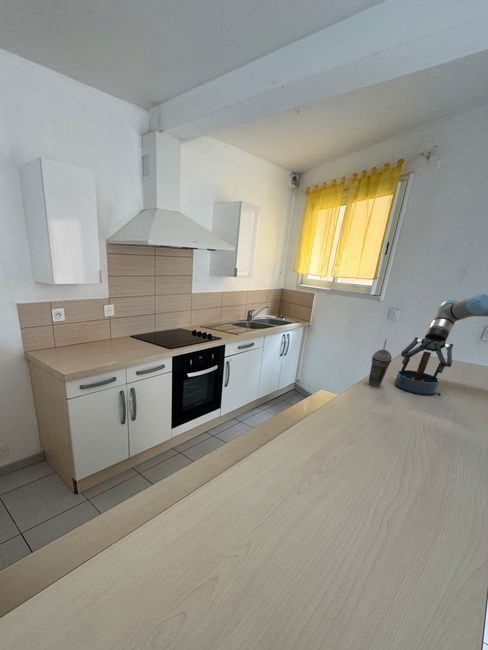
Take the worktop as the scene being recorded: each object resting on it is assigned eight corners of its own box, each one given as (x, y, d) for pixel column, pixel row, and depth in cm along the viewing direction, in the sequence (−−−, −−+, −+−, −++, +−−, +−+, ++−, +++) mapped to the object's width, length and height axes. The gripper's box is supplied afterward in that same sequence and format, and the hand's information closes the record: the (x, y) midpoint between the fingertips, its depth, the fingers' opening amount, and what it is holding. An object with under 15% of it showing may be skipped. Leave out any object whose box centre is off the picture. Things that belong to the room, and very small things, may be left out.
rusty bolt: (424, 386, 139) (436, 353, 133) (419, 388, 136) (431, 354, 131) (412, 382, 143) (423, 350, 137) (406, 384, 140) (418, 351, 134)
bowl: (438, 389, 139) (443, 377, 137) (431, 398, 129) (436, 386, 127) (399, 378, 149) (402, 367, 147) (389, 386, 139) (393, 375, 137)
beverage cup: (368, 386, 138) (381, 341, 130) (362, 380, 145) (374, 337, 137) (386, 388, 137) (400, 342, 129) (379, 382, 144) (393, 338, 136)
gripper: (470, 343, 134) (450, 387, 130) (407, 332, 149) (387, 370, 144) (474, 332, 128) (453, 377, 124) (408, 321, 143) (387, 362, 139)
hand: (417, 374), depth 134 cm, fingers open, 11 cm apart
